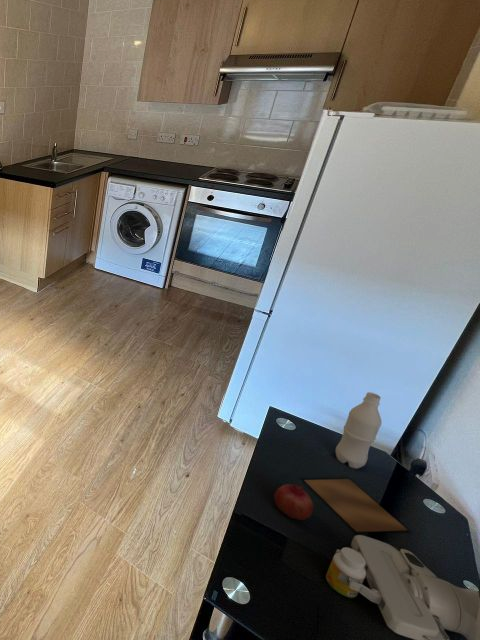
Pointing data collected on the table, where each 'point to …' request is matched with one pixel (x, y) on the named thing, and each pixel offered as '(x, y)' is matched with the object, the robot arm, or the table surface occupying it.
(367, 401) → the water bottle
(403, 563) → the robot arm
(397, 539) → the table surface
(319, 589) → the table surface
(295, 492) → the fruit
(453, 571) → the table surface
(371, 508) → the cork mat
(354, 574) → the supplement bottle
